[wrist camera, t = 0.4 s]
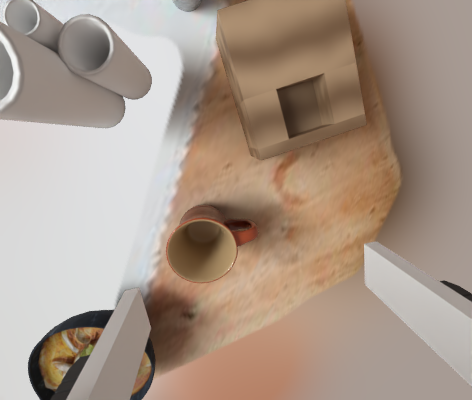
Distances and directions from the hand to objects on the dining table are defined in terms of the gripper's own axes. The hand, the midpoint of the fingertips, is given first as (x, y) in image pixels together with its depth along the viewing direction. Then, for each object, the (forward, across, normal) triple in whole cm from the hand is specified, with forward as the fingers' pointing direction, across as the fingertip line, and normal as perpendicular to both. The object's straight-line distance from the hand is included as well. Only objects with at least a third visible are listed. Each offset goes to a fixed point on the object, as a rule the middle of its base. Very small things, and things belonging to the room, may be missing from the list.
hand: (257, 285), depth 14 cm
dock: (+26, +10, +13) cm, 31 cm away
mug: (+26, -3, -5) cm, 27 cm away
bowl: (+26, -24, -21) cm, 41 cm away
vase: (+27, -14, +17) cm, 34 cm away
